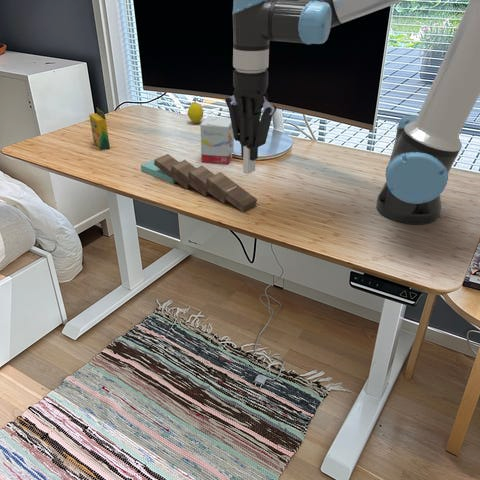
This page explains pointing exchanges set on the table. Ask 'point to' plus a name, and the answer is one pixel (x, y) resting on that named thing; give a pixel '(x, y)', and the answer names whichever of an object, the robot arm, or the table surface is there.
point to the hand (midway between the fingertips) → (249, 171)
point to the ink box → (216, 140)
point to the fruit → (195, 112)
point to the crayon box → (99, 130)
